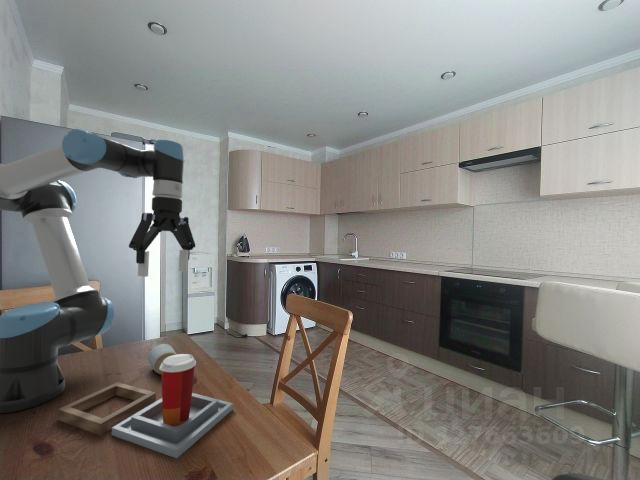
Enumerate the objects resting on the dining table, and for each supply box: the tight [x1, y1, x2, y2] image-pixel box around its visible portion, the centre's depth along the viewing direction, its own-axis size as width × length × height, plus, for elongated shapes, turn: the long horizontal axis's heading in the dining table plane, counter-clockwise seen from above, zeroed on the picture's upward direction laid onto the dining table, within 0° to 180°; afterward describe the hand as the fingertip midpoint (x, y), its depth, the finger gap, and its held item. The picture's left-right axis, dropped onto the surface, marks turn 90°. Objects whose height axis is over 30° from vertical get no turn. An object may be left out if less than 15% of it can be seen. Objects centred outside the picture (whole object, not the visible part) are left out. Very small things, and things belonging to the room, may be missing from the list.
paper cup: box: [159, 353, 197, 426], centre depth 69 cm, size 8×8×14 cm
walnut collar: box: [57, 381, 157, 436], centre depth 72 cm, size 14×14×2 cm
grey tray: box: [111, 392, 234, 459], centre depth 69 cm, size 18×18×3 cm
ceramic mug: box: [147, 343, 178, 376], centre depth 96 cm, size 11×8×8 cm
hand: (164, 273), depth 83 cm, fingers open, 13 cm apart
